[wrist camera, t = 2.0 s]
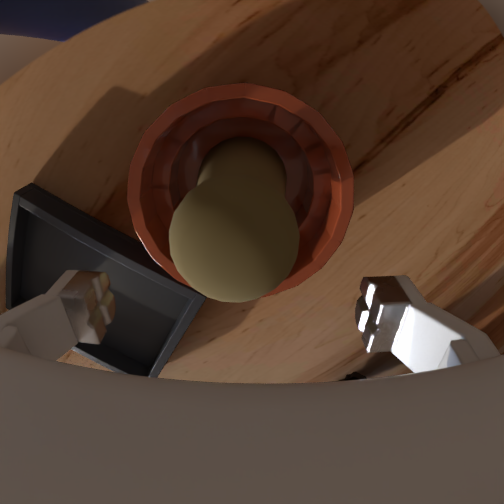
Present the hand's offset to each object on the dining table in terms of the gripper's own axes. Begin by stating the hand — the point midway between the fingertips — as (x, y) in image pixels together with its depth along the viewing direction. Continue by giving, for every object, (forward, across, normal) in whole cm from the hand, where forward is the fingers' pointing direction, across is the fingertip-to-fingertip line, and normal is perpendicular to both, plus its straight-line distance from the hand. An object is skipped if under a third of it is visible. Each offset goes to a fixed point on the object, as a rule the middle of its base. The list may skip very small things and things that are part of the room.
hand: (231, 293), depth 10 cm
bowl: (+13, 0, 0) cm, 13 cm away
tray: (+13, +14, +9) cm, 21 cm away
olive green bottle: (+13, 0, 0) cm, 13 cm away
